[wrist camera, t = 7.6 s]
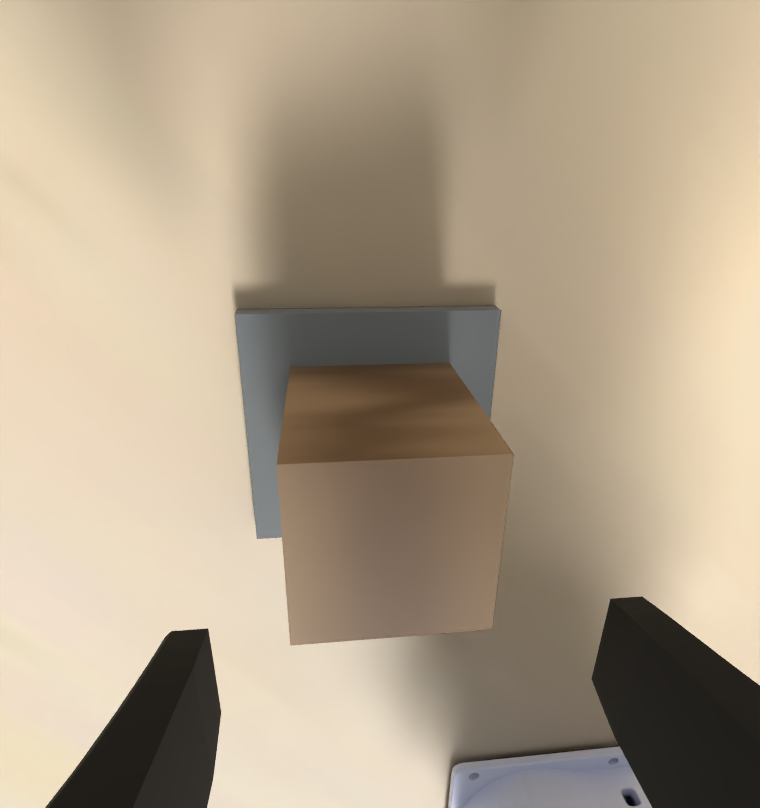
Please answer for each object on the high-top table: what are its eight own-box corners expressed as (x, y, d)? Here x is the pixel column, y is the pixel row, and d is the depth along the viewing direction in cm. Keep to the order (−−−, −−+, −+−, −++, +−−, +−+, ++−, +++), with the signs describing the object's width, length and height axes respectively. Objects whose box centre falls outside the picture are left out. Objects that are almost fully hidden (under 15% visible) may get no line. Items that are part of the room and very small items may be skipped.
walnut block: (449, 362, 17) (513, 454, 11) (441, 497, 19) (491, 629, 13) (290, 367, 16) (276, 464, 11) (298, 504, 18) (290, 645, 13)
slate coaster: (495, 305, 17) (501, 310, 16) (474, 516, 20) (479, 525, 20) (237, 309, 16) (234, 314, 16) (258, 528, 19) (256, 538, 19)
